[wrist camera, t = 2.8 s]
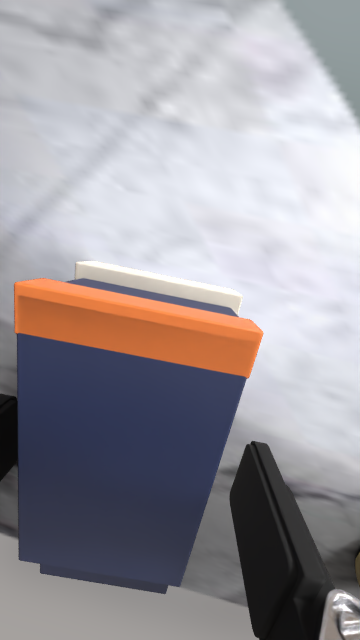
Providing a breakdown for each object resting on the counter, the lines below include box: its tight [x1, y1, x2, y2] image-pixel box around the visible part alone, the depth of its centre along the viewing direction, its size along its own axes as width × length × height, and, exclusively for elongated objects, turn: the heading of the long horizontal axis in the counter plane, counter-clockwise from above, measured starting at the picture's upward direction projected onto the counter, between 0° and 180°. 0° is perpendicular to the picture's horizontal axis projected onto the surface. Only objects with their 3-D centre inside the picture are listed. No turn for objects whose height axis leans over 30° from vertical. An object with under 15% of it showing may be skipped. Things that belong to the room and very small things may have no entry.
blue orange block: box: [14, 261, 263, 594], centre depth 9 cm, size 13×6×5 cm, turn 169°
